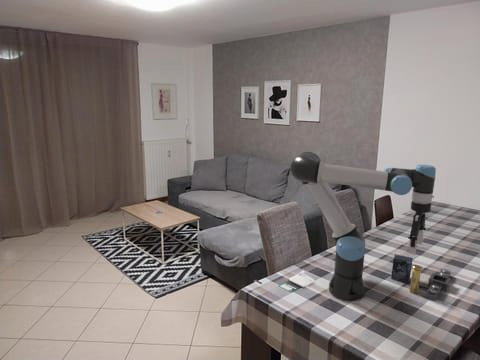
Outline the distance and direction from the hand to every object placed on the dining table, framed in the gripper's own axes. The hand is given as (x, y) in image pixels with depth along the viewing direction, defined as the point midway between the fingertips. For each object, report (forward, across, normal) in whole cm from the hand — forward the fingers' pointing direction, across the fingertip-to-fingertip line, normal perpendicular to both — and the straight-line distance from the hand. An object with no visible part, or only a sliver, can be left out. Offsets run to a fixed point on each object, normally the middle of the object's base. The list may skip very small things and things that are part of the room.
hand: (415, 248), depth 151 cm
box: (+19, +7, +6) cm, 22 cm away
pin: (+19, -2, -2) cm, 19 cm away
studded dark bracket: (+19, +11, -10) cm, 24 cm away
